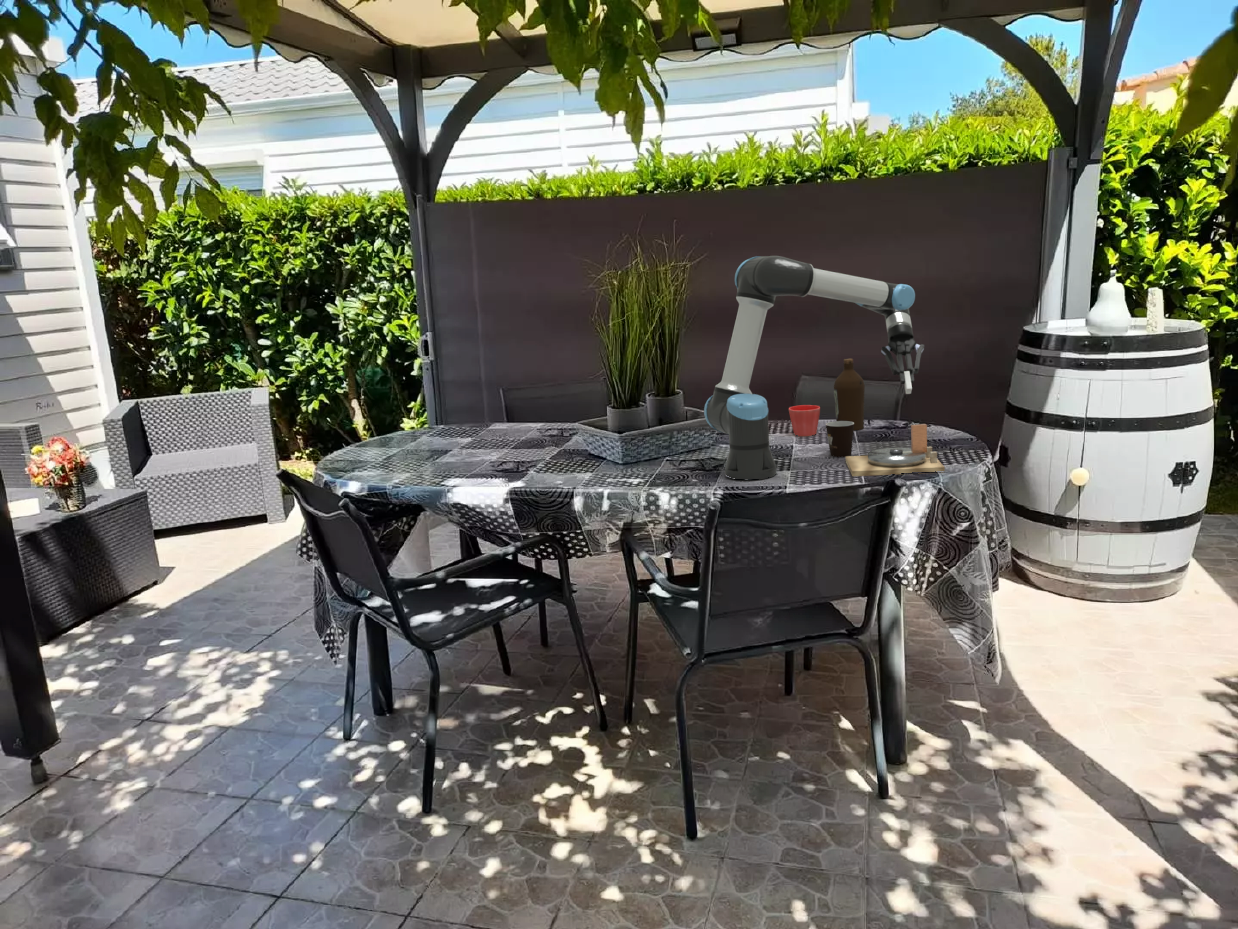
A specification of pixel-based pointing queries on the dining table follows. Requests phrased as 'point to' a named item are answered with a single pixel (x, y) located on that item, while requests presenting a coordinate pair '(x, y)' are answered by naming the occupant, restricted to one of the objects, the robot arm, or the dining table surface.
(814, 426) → the flower pot
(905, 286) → the robot arm
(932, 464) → the tan record player
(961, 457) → the dining table surface
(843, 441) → the coffee mug
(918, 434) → the disc
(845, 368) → the olive oil
